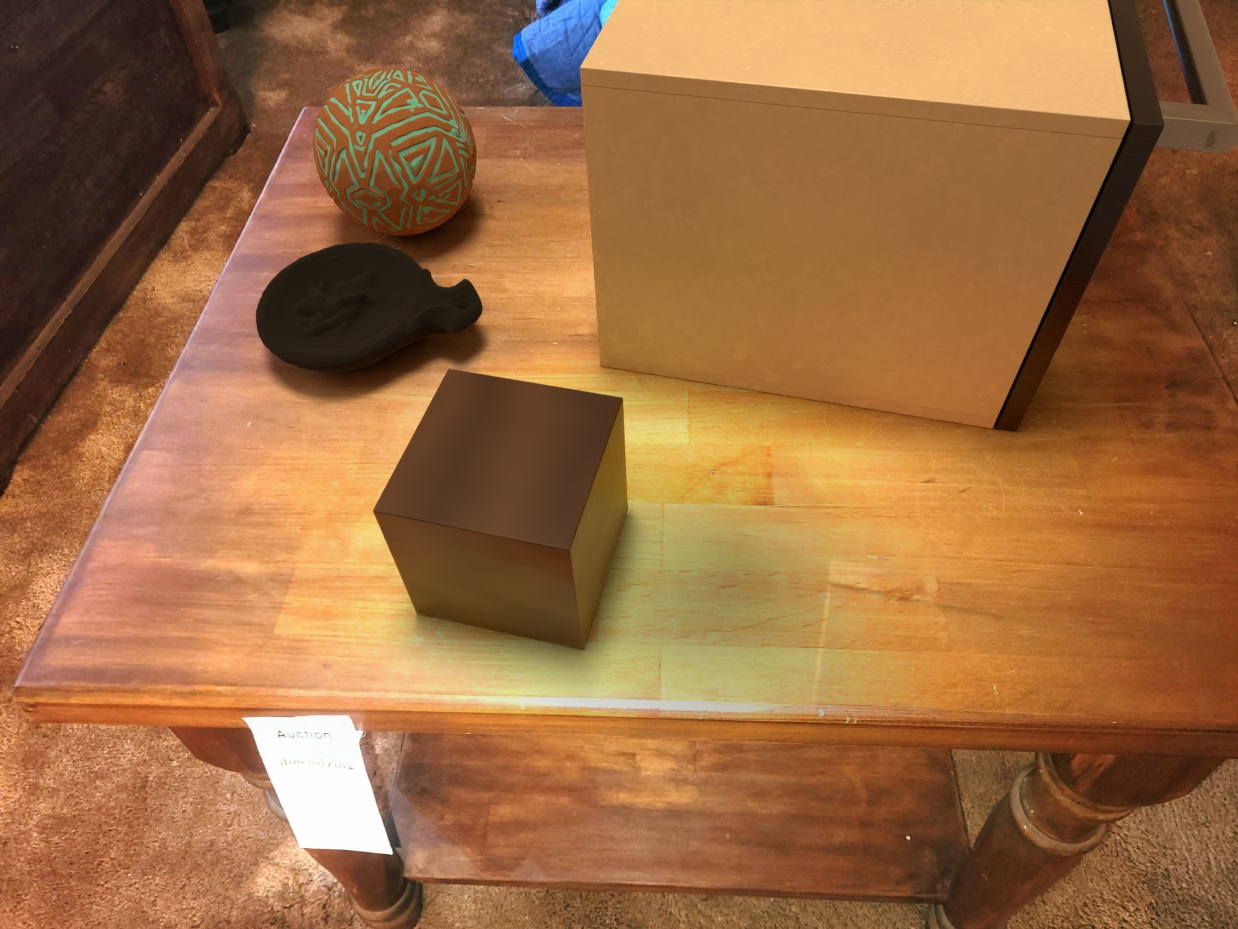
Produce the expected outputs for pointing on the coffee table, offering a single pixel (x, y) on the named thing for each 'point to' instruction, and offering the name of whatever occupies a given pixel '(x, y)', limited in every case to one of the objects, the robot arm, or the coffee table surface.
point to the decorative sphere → (394, 151)
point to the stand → (509, 506)
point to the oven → (843, 190)
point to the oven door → (1132, 166)
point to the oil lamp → (357, 307)
